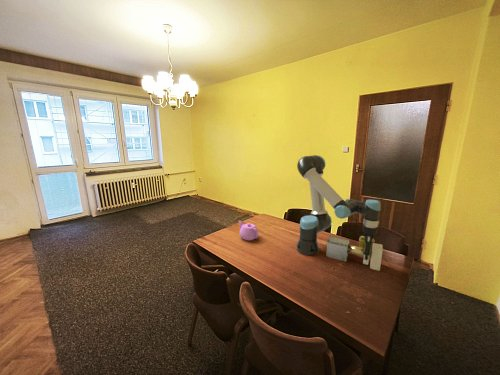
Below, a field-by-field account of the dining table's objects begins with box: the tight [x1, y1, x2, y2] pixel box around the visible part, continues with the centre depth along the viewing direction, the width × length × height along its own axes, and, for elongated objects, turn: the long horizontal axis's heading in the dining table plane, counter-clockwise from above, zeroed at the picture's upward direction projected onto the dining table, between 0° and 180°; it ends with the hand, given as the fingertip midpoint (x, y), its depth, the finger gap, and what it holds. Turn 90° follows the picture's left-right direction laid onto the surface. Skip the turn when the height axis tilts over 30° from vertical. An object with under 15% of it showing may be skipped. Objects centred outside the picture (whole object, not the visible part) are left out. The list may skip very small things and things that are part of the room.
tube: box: [347, 244, 372, 259], centre depth 129 cm, size 17×5×5 cm, turn 58°
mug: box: [358, 235, 376, 250], centre depth 144 cm, size 12×10×10 cm
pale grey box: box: [325, 235, 350, 263], centre depth 135 cm, size 12×9×11 cm
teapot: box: [238, 220, 259, 241], centre depth 163 cm, size 20×13×12 cm, turn 48°
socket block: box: [369, 243, 384, 272], centre depth 124 cm, size 5×9×12 cm, turn 148°
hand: (366, 258), depth 127 cm, fingers open, 12 cm apart
